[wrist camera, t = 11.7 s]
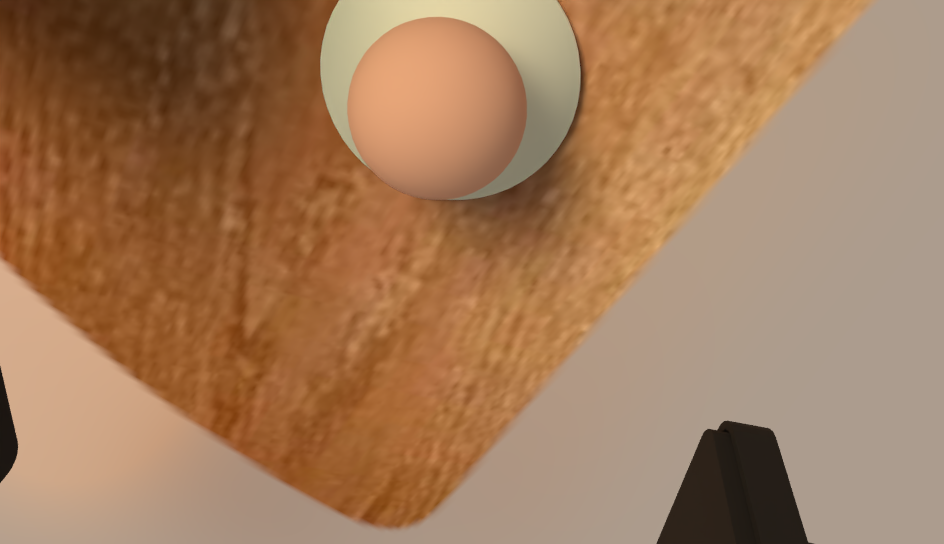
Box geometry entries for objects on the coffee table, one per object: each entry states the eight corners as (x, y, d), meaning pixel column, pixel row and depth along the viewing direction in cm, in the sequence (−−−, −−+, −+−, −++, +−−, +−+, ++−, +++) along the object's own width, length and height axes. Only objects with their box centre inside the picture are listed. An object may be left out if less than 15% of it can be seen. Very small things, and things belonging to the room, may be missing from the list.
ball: (545, 14, 23) (539, 66, 19) (515, 170, 26) (503, 246, 21) (376, -17, 23) (331, 28, 19) (363, 142, 26) (321, 212, 22)
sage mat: (607, -33, 23) (608, -32, 22) (551, 214, 27) (551, 218, 26) (330, -82, 23) (327, -81, 22) (316, 174, 27) (314, 177, 26)
